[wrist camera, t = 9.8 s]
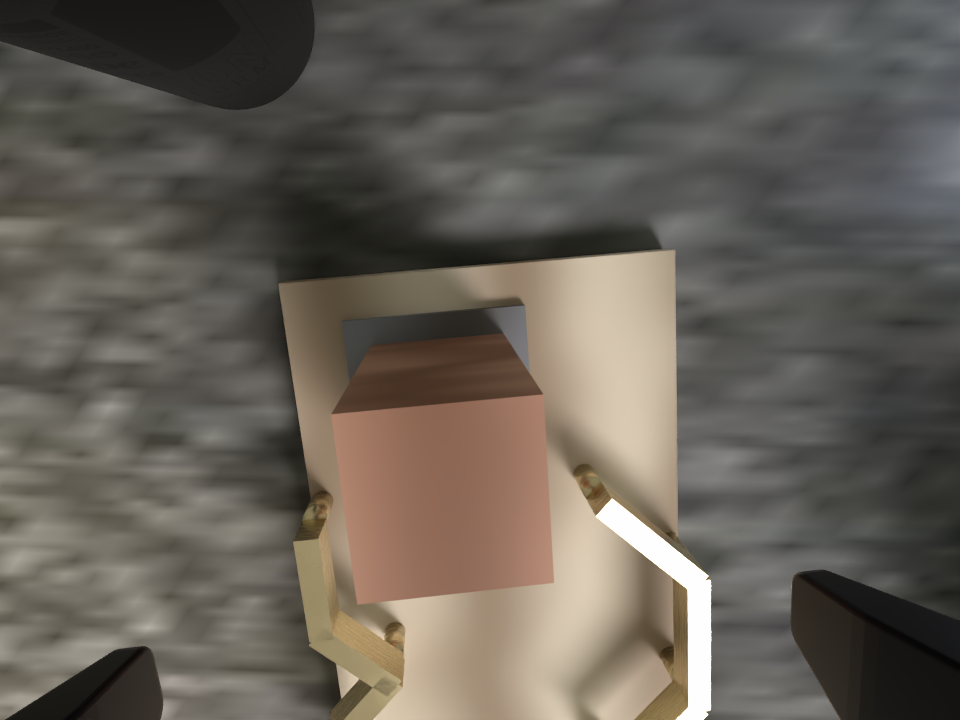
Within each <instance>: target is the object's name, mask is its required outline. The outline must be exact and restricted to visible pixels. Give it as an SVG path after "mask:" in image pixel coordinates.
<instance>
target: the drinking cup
mask: <svg viewBox="0 0 960 720" xmlns="http://www.w3.org/2000/svg"><path fill="white" fill-rule="evenodd" d="M313 40H314V13H313V7H312V2H311V0H0V41H2V42H5V43H8V44H12V45H15V46H18V47H21V48H25V49H28V50H31V51H35V52H38V53H41V54H44V55H48V56H51V57H54V58H57V59H61V60H64V61H67V62H70V63H74V64H77V65H80V66H83V67H87V68H90V69H93V70H96V71H100V72H103V73H106V74H109V75H113V76H116V77H119V78H122V79H126V80H129V81H132V82H136V83H139V84H142V85H145V86H149V87H152V88H155V89H158V90H162V91H165V92H168V93H171V94H175V95H178V96H181V97H184V98H188V99H191V100H194V101H197V102H201V103H204V104H207V105H210V106H214V107H218V108H223V109H234V110H240V109H249V108H255V107H258V106H262V105H264V104H267V103H269V102H271V101H273V100H275V99H276V98H278V97H279V96H281V95H282V94H284V93H285V92H286V91H287V90H288V89H289V88H290V87H291V86H292V85H293V84H294V83H295V82H296V81H297V79H298V78H299V77H300V75H301V73H302V72H303V70H304V68H305V66H306V64H307V62H308V59H309V57H310V53H311V50H312V46H313Z"/></svg>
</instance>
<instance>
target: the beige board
mask: <svg viewBox="0 0 960 720" xmlns="http://www.w3.org/2000/svg"><path fill="white" fill-rule="evenodd" d="M278 286H279V293H280V299H281V306H282V312H283V319H284V325H285V332H286V339H287V345H288V352H289V358H290V365H291V371H292V378H293V385H294V391H295V398H296V404H297V411H298V418H299V424H300V431H301V437H302V444H303V450H304V457H305V464H306V470H307V477H308V483H309V490H310V496H311V498H312V496H313V495H314V494H315V493H317V492H319V491H325V492H328V493H329V494H331V496H332V497H333V506H332V508H331V511H330V513H329V516H328V519H327V521H326V522H327V529H328V535H329V542H330V549H331V556H332V563H333V569H334V576H335V583H336V590H337V597H338V603H339V610H341V611H342V612H344V613H345V614H347V615H348V616H350V617H351V618H352V619H354V620H355V621H357V622H358V623H360V624H361V625H363V626H364V627H366V628H367V629H369V630H370V631H372V632H373V633H375V634H376V635H378V636H379V637H381V638H382V639H383V640H384V633H385V628H386V627H387V625H389V624H390V623H393V622H398V623H401V624H402V625H403V626H404V627H405V644H404V659H405V663H404V676H403V687H402V689H401V690H400V691H399V692H398V693H397V694H396V695H395V696H394V697H393V698H392V700H391V701H390V702H389V703H388V704H387V705H386V706H385V707H384V708H383V709H382V710H381V712H380V713H379V714H378V715H377V716H376V717H375V718H374V719H373V720H634V719H635V718H636V717H637V716H638V715H639V714H640V713H641V712H642V711H643V710H644V709H645V708H646V707H647V706H648V705H649V704H650V703H651V702H652V701H653V700H654V699H655V698H656V697H657V696H658V695H659V694H660V693H661V692H662V691H663V690H664V689H665V688H666V687H667V686H668V685H669V684H670V683H671V682H672V680H671V678H670V676H669V674H668V672H667V670H666V668H665V666H664V664H663V663H662V661H661V659H660V653H661V651H662V650H663V649H664V648H666V647H669V646H673V647H674V635H673V577H672V576H670V575H669V574H668V573H667V572H665V571H664V570H663V569H662V568H660V567H659V566H658V565H657V564H655V563H654V562H653V561H652V560H650V559H649V558H648V557H646V556H645V555H644V554H643V553H641V552H640V551H639V550H638V549H636V548H635V547H634V546H633V545H631V544H630V543H629V542H628V541H626V540H625V539H624V538H623V537H621V536H620V535H619V534H617V533H616V532H615V531H614V530H612V529H611V528H610V527H609V526H607V525H606V524H605V523H604V522H602V521H601V520H600V519H599V518H597V517H596V516H595V514H594V512H593V510H592V509H591V507H590V505H589V503H588V501H587V500H586V498H585V497H584V495H583V493H582V491H581V490H580V488H579V486H578V484H577V482H576V481H575V479H574V470H575V469H576V467H578V466H579V465H581V464H588V465H590V466H592V467H593V469H594V470H595V472H596V473H597V475H598V476H599V478H600V479H601V481H602V483H603V484H605V485H606V486H607V487H608V488H609V489H611V490H612V491H613V492H614V493H616V494H617V495H618V496H619V497H621V498H622V499H623V500H624V501H626V502H627V503H628V504H629V505H630V506H632V507H633V508H634V509H635V510H637V511H638V512H639V513H640V514H642V515H643V516H644V517H645V518H647V519H648V520H649V521H650V522H651V523H653V524H654V525H655V526H656V527H658V528H659V529H660V530H661V531H663V532H664V533H667V532H671V533H674V534H675V535H676V536H677V537H678V485H677V389H676V292H675V250H669V249H657V250H646V251H634V252H622V253H610V254H599V255H587V256H575V257H564V258H552V259H540V260H529V261H517V262H505V263H493V264H482V265H470V266H458V267H447V268H435V269H423V270H411V271H400V272H388V273H376V274H365V275H353V276H341V277H329V278H318V279H306V280H294V281H285V282H282V283H279V284H278ZM502 333H504V335H505V336H506V338H507V339H508V341H509V342H510V344H511V345H512V347H513V348H514V350H515V352H516V353H517V355H518V356H519V358H520V359H521V361H522V362H523V364H524V365H525V367H526V368H527V370H528V371H529V373H530V374H531V376H532V377H533V379H534V381H535V382H536V384H537V385H538V387H539V388H540V390H541V391H542V393H543V394H544V412H545V429H546V447H547V465H548V482H549V500H550V518H551V535H552V553H553V571H554V583H549V584H540V585H531V586H522V587H513V588H504V589H495V590H486V591H477V592H468V593H459V594H450V595H440V596H431V597H422V598H413V599H404V600H395V601H386V602H377V603H368V604H359V605H357V601H356V593H355V586H354V579H353V571H352V564H351V557H350V549H349V542H348V535H347V527H346V520H345V513H344V505H343V498H342V491H341V483H340V476H339V469H338V461H337V454H336V447H335V439H334V432H333V425H332V417H331V414H332V412H333V410H334V408H335V407H336V405H337V403H338V402H339V400H340V398H341V396H342V395H343V393H344V391H345V390H346V388H347V386H348V384H349V383H350V381H351V379H352V377H353V376H354V374H355V372H356V371H357V369H358V367H359V365H360V364H361V362H362V360H363V359H364V357H365V355H366V353H367V352H368V350H369V348H370V346H371V345H378V344H389V343H400V342H411V341H423V340H434V339H445V338H457V337H468V336H479V335H491V334H502ZM336 667H337V674H338V681H339V687H340V694H341V699H342V698H343V697H344V696H345V695H346V693H347V692H348V691H349V690H350V689H351V688H352V687H353V686H354V685H355V683H356V682H357V681H358V680H359V678H357V677H356V676H354V675H353V674H351V673H350V672H348V671H347V670H345V669H344V668H342V667H341V666H339V665H338V664H336Z"/></svg>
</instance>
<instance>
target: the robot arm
mask: <svg viewBox="0 0 960 720" xmlns="http://www.w3.org/2000/svg"><path fill="white" fill-rule="evenodd" d="M790 625H791V631H792V634H793V637H794V640H795V642H796V644H797V646H798V647H799V649H800V651H801V652H802V654H803V656H804V658H805V659H806V661H807V663H808V665H809V666H810V668H811V670H812V671H813V673H814V675H815V677H816V678H817V680H818V682H819V684H820V685H821V687H822V689H823V690H824V692H825V694H826V696H827V697H828V699H829V701H830V703H831V704H832V706H833V708H834V709H835V711H836V713H837V715H838V716H839V718H840V720H960V621H959V620H956V619H954V618H951V617H948V616H946V615H943V614H941V613H938V612H935V611H933V610H930V609H927V608H925V607H922V606H919V605H917V604H914V603H911V602H909V601H906V600H904V599H901V598H898V597H896V596H893V595H890V594H888V593H885V592H882V591H880V590H877V589H875V588H872V587H869V586H867V585H864V584H861V583H859V582H856V581H853V580H851V579H848V578H845V577H843V576H840V575H838V574H835V573H832V572H830V571H827V570H813V571H804V572H798V573H797V574H795V575H794V577H793V579H792V587H791V616H790ZM162 711H163V694H162V690H161V686H160V681H159V677H158V672H157V668H156V663H155V659H154V655H153V652H152V651H151V649H149V648H148V647H146V646H140V647H131V648H122V649H117V650H114V651H113V652H111V653H109V654H108V655H106V656H105V657H103V658H102V659H100V660H98V661H97V662H95V663H94V664H92V665H90V666H89V667H87V668H86V669H84V670H83V671H81V672H79V673H78V674H76V675H75V676H73V677H72V678H70V679H68V680H67V681H65V682H64V683H62V684H61V685H59V686H57V687H56V688H54V689H53V690H51V691H50V692H48V693H46V694H45V695H43V696H42V697H40V698H39V699H37V700H35V701H34V702H32V703H31V704H29V705H27V706H26V707H24V708H23V709H21V710H20V711H18V712H16V713H15V714H13V715H12V716H10V717H9V718H7V719H5V720H160V719H161V716H162Z"/></svg>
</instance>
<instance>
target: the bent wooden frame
mask: <svg viewBox="0 0 960 720" xmlns="http://www.w3.org/2000/svg"><path fill="white" fill-rule="evenodd" d="M574 479H575V481H576V482H577V484H578V486H579V488H580V490H581V491H582V493H583V495H584V497H585V498H586V500H587V501H588V503H589V505H590V507H591V509H592V510H593V512H594V514H595V516H596V517H597V518H599V519H600V520H601V521H602V522H604V523H605V524H606V525H607V526H609V527H610V528H611V529H612V530H614V531H615V532H616V533H617V534H619V535H620V536H621V537H623V538H624V539H625V540H626V541H628V542H629V543H630V544H631V545H633V546H634V547H635V548H636V549H638V550H639V551H640V552H641V553H643V554H644V555H645V556H646V557H648V558H649V559H650V560H652V561H653V562H654V563H655V564H657V565H658V566H659V567H660V568H662V569H663V570H664V571H665V572H667V573H668V574H669V575H670V576H672V577H673V635H674V647H673V646H669V647H666V648H664V649H663V650H662V651H661V653H660V659H661V661H662V663H663V664H664V666H665V668H666V670H667V672H668V674H669V676H670V678H671V680H672V682H671V683H670V684H669V685H668V686H667V687H666V688H665V689H664V690H663V691H662V692H661V693H660V694H659V695H658V696H657V697H656V698H655V699H654V700H653V701H652V702H651V703H650V704H649V705H648V706H647V707H646V708H645V709H644V710H643V711H642V712H641V713H640V714H639V715H638V716H637V717H636V718H635V719H634V720H703V719H704V718H705V717H706V716H707V715H708V714H707V712H706V711H709V710H710V673H711V580H710V579H709V577H708V575H707V574H706V573H705V571H704V570H703V569H702V568H701V566H700V565H699V564H698V563H697V561H696V560H695V559H694V557H693V556H692V555H691V554H690V552H689V551H688V550H687V549H686V547H685V546H684V545H683V543H682V542H681V541H680V540H679V538H678V537H677V536H676V535H675V534H674V533H671V532H667V533H664V532H663V531H661V530H660V529H659V528H658V527H656V526H655V525H654V524H653V523H651V522H650V521H649V520H648V519H647V518H645V517H644V516H643V515H642V514H640V513H639V512H638V511H637V510H635V509H634V508H633V507H632V506H630V505H629V504H628V503H627V502H626V501H624V500H623V499H622V498H621V497H619V496H618V495H617V494H616V493H614V492H613V491H612V490H611V489H609V488H608V487H607V486H606V485H605V484H603V483H602V481H601V479H600V478H599V476H598V475H597V473H596V472H595V470H594V469H593V467H592V466H590V465H588V464H581V465H579V466H578V467H576V469H575V470H574ZM332 506H333V497H332V496H331V494H329V493H328V492H325V491H319V492H317V493H315V494H314V495H313V496H312V498H311V501H310V503H309V505H308V507H307V509H306V511H305V513H304V515H303V519H302V521H303V522H302V524H301V526H300V528H299V530H298V532H297V534H296V537H295V539H294V541H293V544H294V550H295V556H296V563H297V569H298V575H299V581H300V587H301V594H302V600H303V606H304V612H305V618H306V624H307V631H308V637H309V642H310V643H309V646H310V647H312V648H313V649H315V650H316V651H318V652H319V653H321V654H322V655H324V656H325V657H327V658H328V659H330V660H331V661H333V662H335V663H336V664H338V665H339V666H341V667H342V668H344V669H345V670H347V671H348V672H350V673H351V674H353V675H354V676H356V677H357V678H359V680H358V681H357V682H356V683H355V685H354V686H353V687H352V688H351V689H350V690H349V691H348V692H347V693H346V695H345V696H344V697H343V698H342V699H341V700H340V701H339V702H338V703H337V705H336V706H335V707H334V708H333V709H332V710H331V713H330V718H329V720H373V719H374V718H375V717H376V716H377V715H378V714H379V713H380V712H381V710H382V709H383V708H384V707H385V706H386V705H387V704H388V703H389V702H390V701H391V700H392V698H393V697H394V696H395V695H396V694H397V693H398V692H399V691H400V690H401V689H402V687H403V676H404V663H405V659H404V644H405V627H404V626H403V625H402V624H401V623H398V622H393V623H390V624H389V625H387V627H386V628H385V633H384V640H383V639H382V638H381V637H379V636H378V635H376V634H375V633H373V632H372V631H370V630H369V629H367V628H366V627H364V626H363V625H361V624H360V623H358V622H357V621H355V620H354V619H352V618H351V617H350V616H348V615H347V614H345V613H344V612H342V611H341V610H339V603H338V597H337V590H336V583H335V576H334V569H333V563H332V556H331V549H330V542H329V535H328V529H327V522H326V521H327V519H328V516H329V513H330V511H331V508H332Z"/></svg>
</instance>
